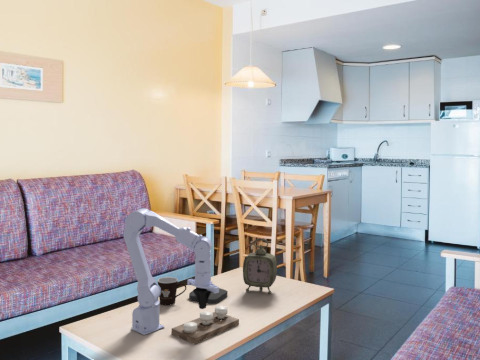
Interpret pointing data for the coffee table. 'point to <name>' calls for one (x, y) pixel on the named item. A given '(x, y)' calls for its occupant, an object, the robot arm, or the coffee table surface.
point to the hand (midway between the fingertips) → (202, 308)
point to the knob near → (190, 327)
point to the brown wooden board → (206, 328)
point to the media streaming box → (211, 296)
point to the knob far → (221, 311)
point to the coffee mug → (168, 290)
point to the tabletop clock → (259, 268)
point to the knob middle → (206, 317)
